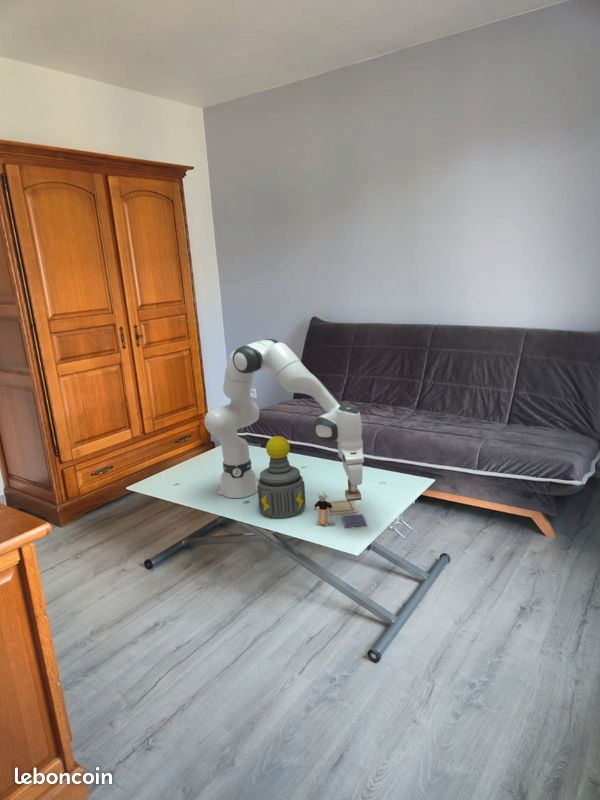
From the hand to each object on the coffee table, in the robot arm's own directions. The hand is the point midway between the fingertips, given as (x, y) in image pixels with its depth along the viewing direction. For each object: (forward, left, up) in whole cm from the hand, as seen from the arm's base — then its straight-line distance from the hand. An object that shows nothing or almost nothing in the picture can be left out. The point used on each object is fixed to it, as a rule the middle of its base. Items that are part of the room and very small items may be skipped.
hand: (352, 487), depth 194 cm
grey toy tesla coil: (-18, -26, -14) cm, 34 cm away
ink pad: (0, 0, -14) cm, 14 cm away
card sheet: (-14, -3, -14) cm, 20 cm away
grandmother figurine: (-1, -11, -14) cm, 18 cm away
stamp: (0, 0, -4) cm, 4 cm away
